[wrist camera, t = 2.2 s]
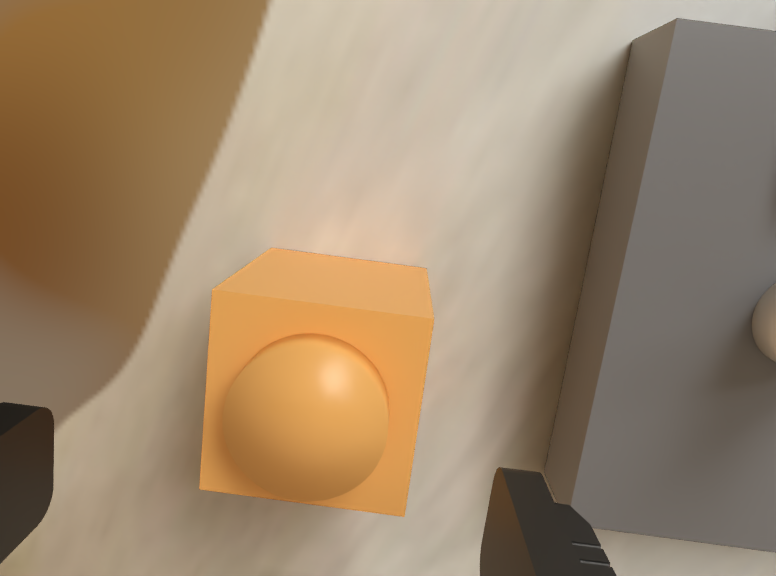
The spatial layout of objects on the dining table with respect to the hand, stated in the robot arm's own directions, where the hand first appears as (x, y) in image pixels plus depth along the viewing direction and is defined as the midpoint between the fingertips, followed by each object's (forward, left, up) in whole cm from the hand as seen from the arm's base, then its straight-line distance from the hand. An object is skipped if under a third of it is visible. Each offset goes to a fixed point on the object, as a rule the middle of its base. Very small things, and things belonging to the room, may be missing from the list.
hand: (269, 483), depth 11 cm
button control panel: (-3, +13, -9) cm, 16 cm away
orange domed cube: (0, 0, -9) cm, 9 cm away
